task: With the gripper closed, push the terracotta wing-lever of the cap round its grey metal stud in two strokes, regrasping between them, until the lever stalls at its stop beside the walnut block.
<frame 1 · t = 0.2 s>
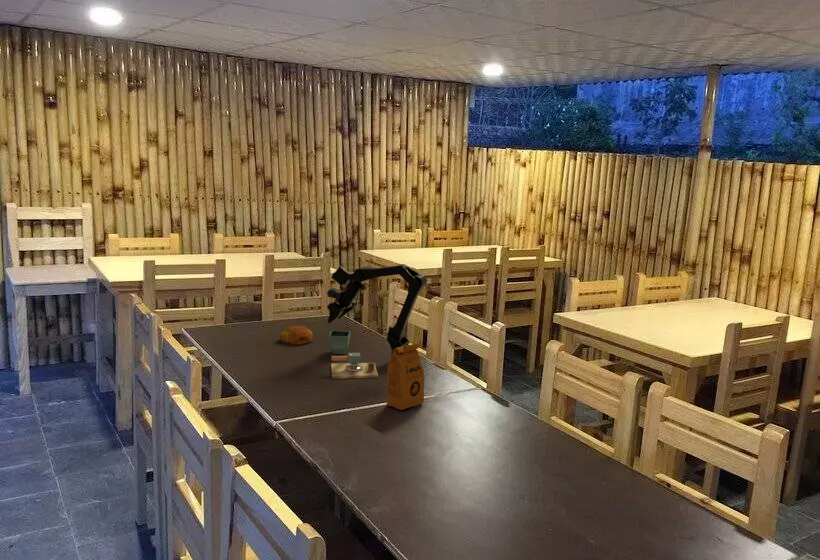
hand: (333, 320, 288), 15 cm above the table, tool tilted 30°, fingers open, 9 cm apart
croissant: (297, 341, 308), on the table
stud: (354, 365, 266), on the board, point 2 cm above the table
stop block: (371, 366, 265), on the board, point 2 cm above the table
cap: (346, 357, 265), point 6 cm above the table, hinge at 0.0°
board: (354, 371, 266), on the table
coffee package: (405, 406, 231), on the table
flower pot: (339, 353, 291), on the table
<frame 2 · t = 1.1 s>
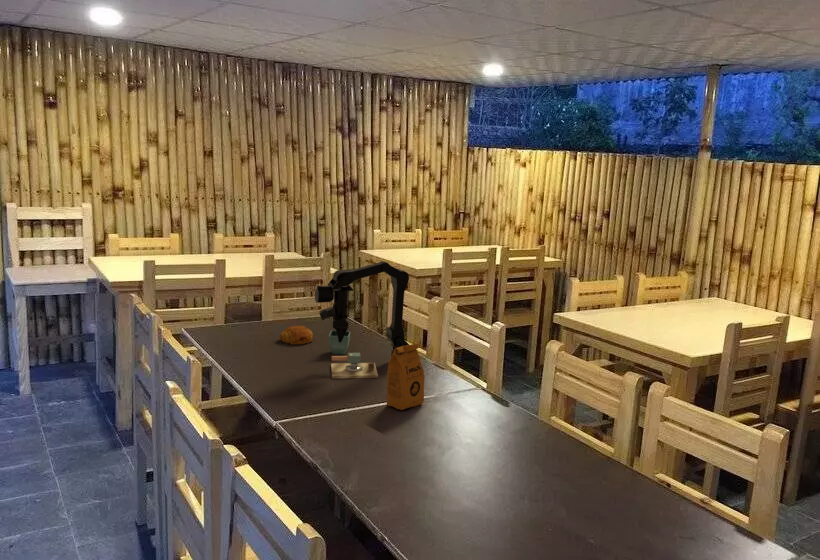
hand: (339, 339, 268), 12 cm above the table, tool pointing down, fingers open, 9 cm apart
nothing on the table moved.
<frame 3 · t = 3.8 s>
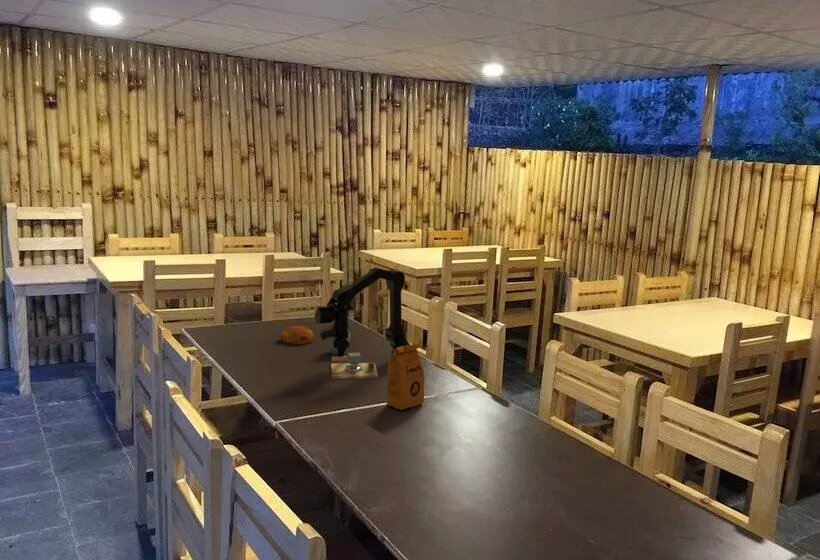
hand: (340, 358, 266), 5 cm above the table, tool pointing down, fingers closed
cap: (346, 357, 264), point 6 cm above the table, hinge at 3.4°, touching gripper
everything else where it was.
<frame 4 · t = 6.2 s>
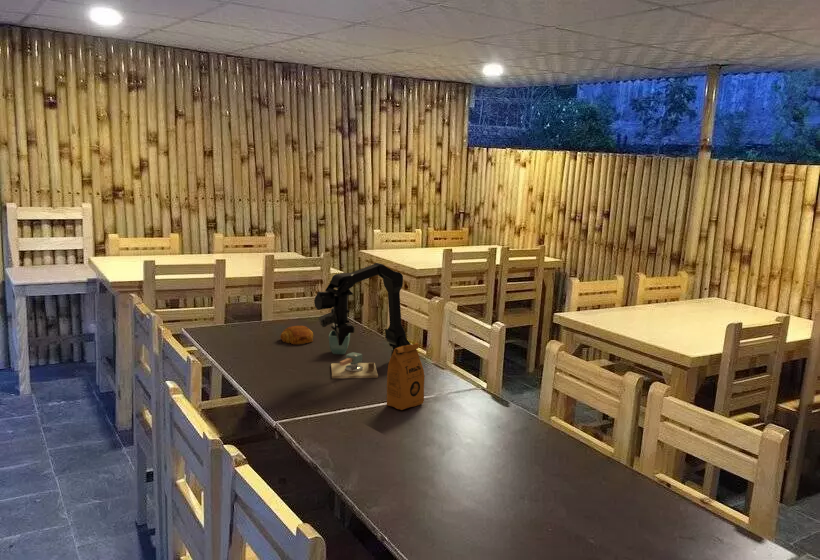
hand: (340, 345, 260), 12 cm above the table, tool pointing down, fingers closed
cap: (349, 359, 262), point 6 cm above the table, hinge at 53.2°
everything else where it was.
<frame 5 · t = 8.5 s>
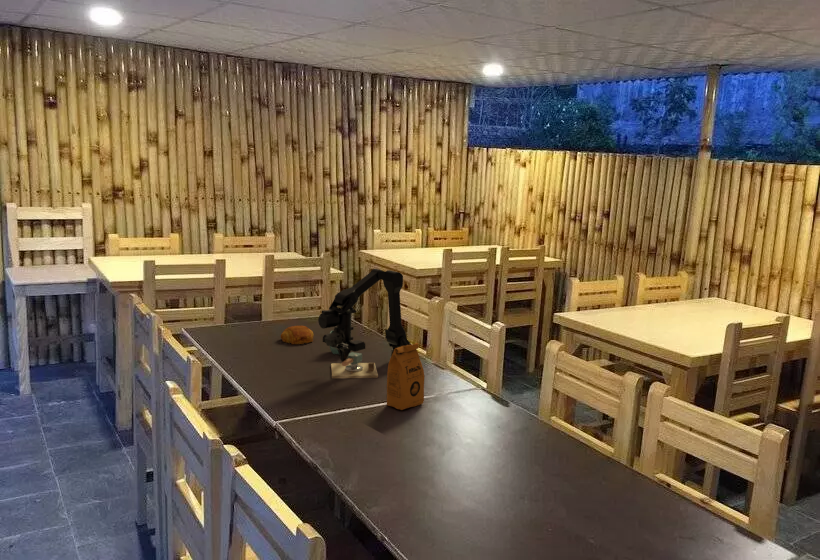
hand: (343, 362, 261), 5 cm above the table, tool pointing down, fingers closed
cap: (350, 359, 262), point 6 cm above the table, hinge at 60.3°, touching gripper
everything else where it was.
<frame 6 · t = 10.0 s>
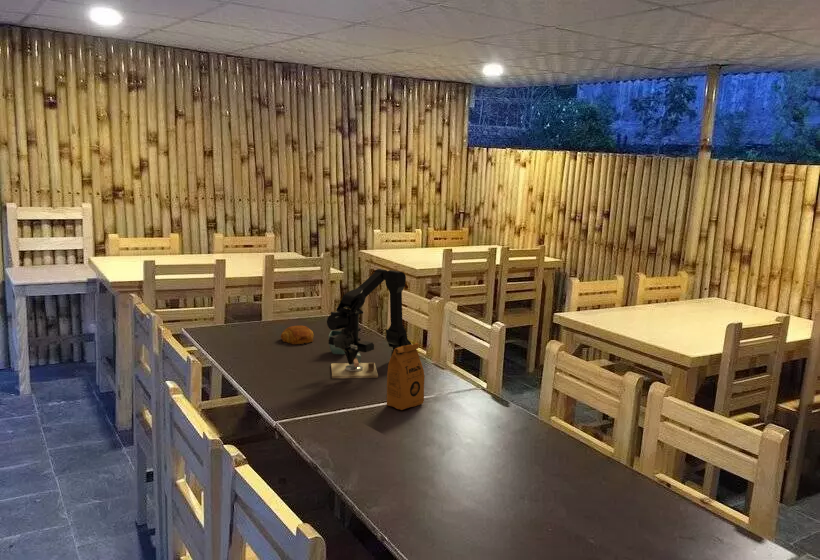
hand: (350, 364, 259), 5 cm above the table, tool pointing down, fingers closed
cap: (355, 360, 262), point 6 cm above the table, hinge at 93.0°, touching gripper
everything else where it was.
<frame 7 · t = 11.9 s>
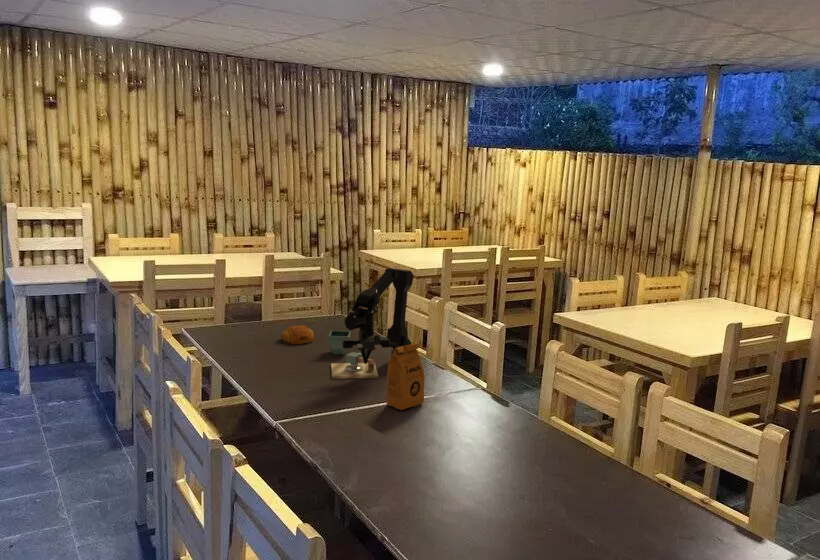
hand: (365, 363, 260), 5 cm above the table, tool pointing down, fingers closed
cap: (361, 359, 263), point 6 cm above the table, hinge at 142.1°, touching gripper
everything else where it was.
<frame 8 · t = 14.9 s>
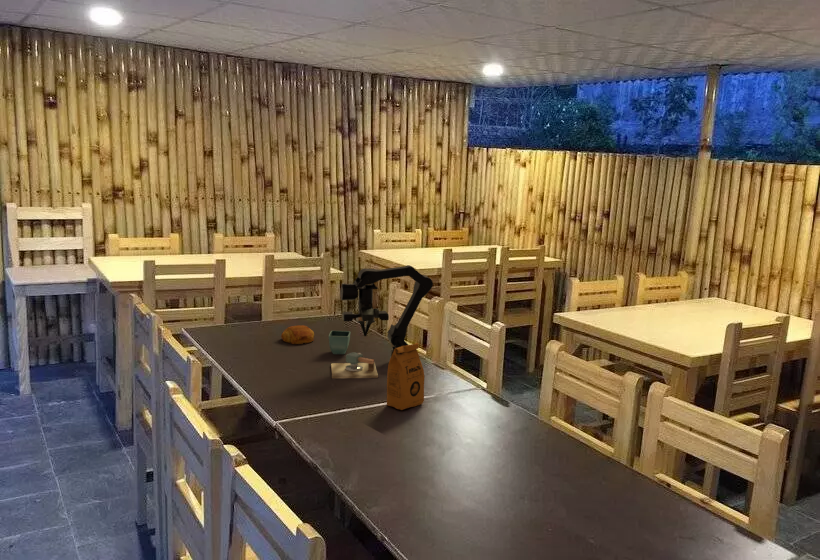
hand: (365, 336, 274), 12 cm above the table, tool pointing down, fingers closed
cap: (361, 359, 263), point 6 cm above the table, hinge at 142.1°
at the end: cap at +142° (first picture: +0°) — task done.
